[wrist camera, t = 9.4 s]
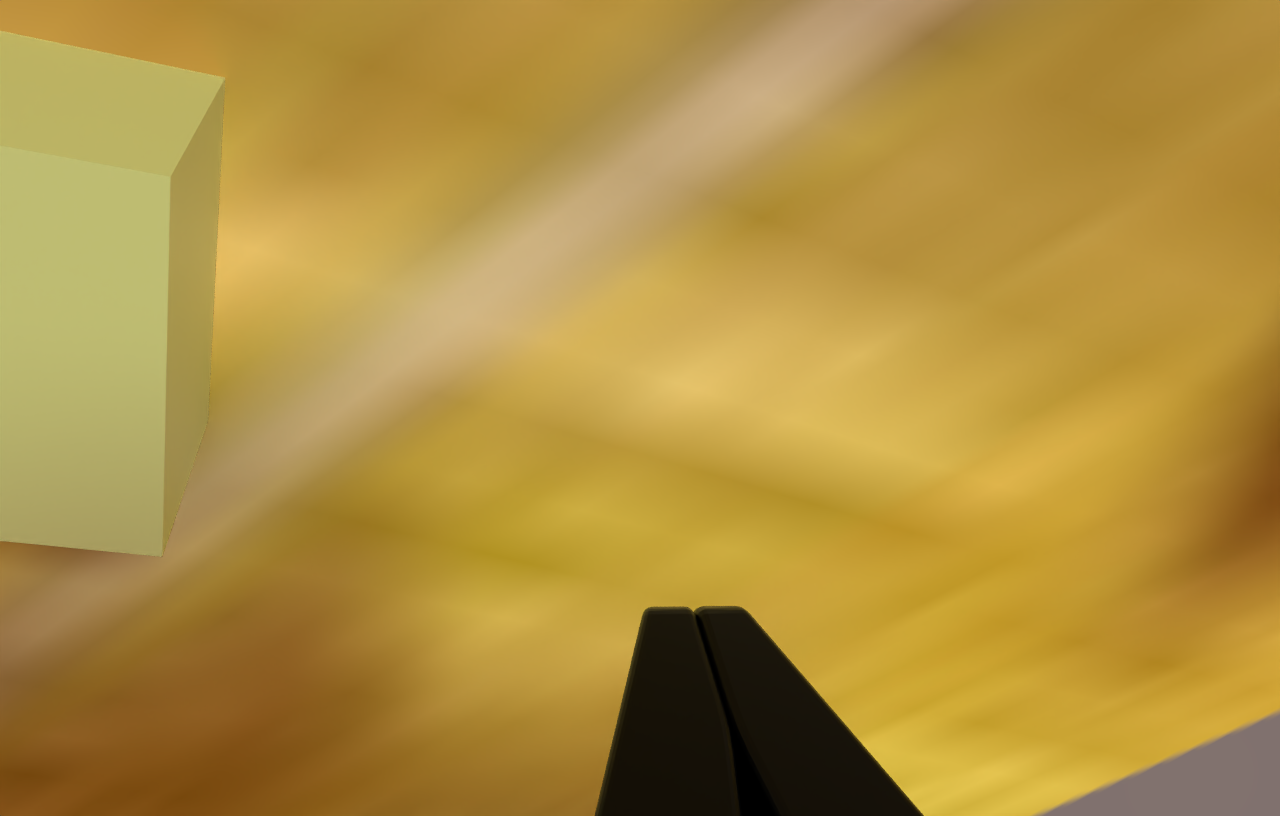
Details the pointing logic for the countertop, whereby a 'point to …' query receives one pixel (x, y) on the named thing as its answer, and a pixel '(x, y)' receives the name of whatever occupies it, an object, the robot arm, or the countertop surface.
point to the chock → (103, 291)
